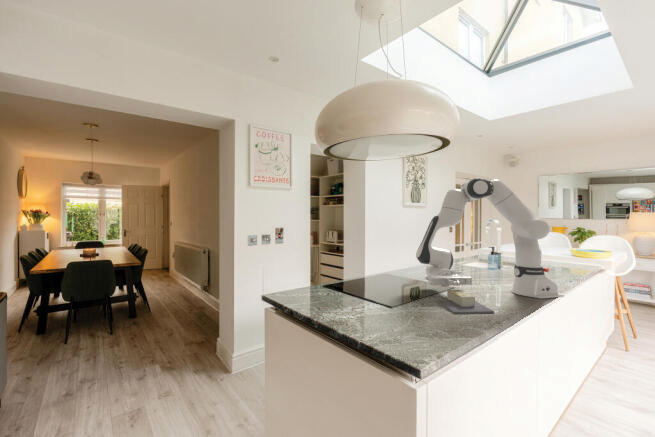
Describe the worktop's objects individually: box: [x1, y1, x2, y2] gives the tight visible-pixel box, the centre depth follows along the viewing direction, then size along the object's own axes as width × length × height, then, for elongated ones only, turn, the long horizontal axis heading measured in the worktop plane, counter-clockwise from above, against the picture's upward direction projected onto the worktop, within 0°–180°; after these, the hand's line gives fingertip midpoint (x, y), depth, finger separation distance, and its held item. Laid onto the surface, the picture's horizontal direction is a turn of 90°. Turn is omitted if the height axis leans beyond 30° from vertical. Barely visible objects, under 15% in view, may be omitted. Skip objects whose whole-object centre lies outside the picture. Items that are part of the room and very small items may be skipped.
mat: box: [437, 299, 495, 315], centre depth 132 cm, size 17×16×1 cm
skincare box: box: [446, 289, 476, 307], centre depth 136 cm, size 6×4×12 cm
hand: (457, 283), depth 137 cm, fingers closed
